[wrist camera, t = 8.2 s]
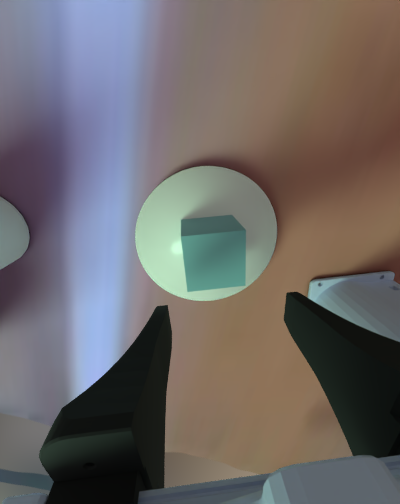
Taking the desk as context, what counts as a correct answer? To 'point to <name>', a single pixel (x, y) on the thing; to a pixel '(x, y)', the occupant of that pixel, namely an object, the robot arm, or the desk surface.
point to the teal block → (213, 252)
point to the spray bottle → (12, 234)
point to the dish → (198, 206)
